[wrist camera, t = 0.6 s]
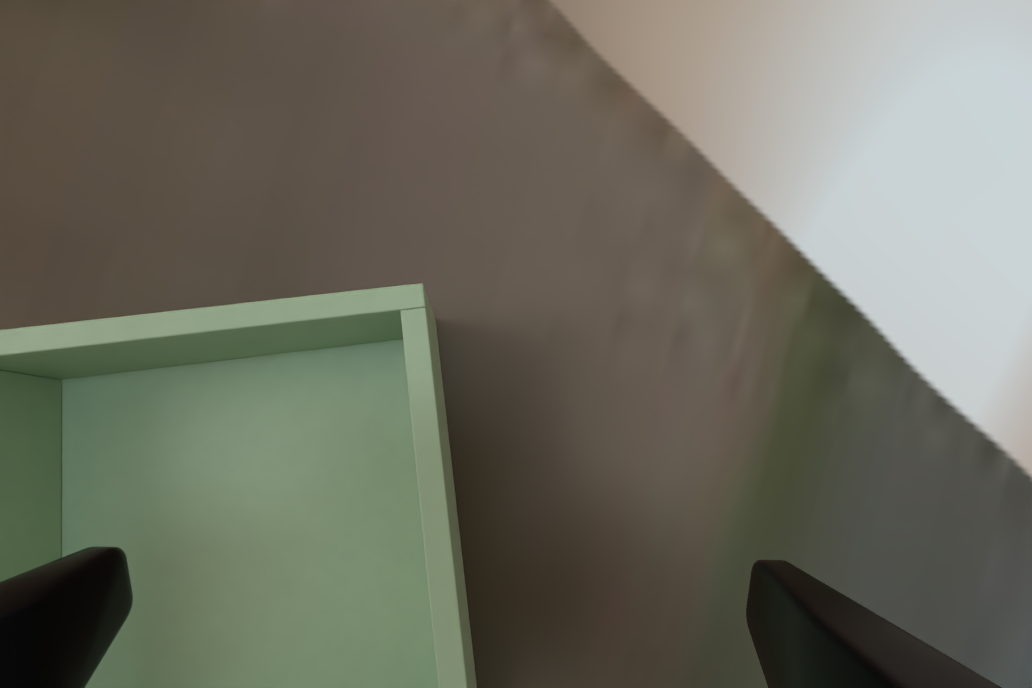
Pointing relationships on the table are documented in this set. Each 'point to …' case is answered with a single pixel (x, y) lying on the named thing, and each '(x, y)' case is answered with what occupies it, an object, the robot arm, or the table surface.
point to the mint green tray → (248, 488)
